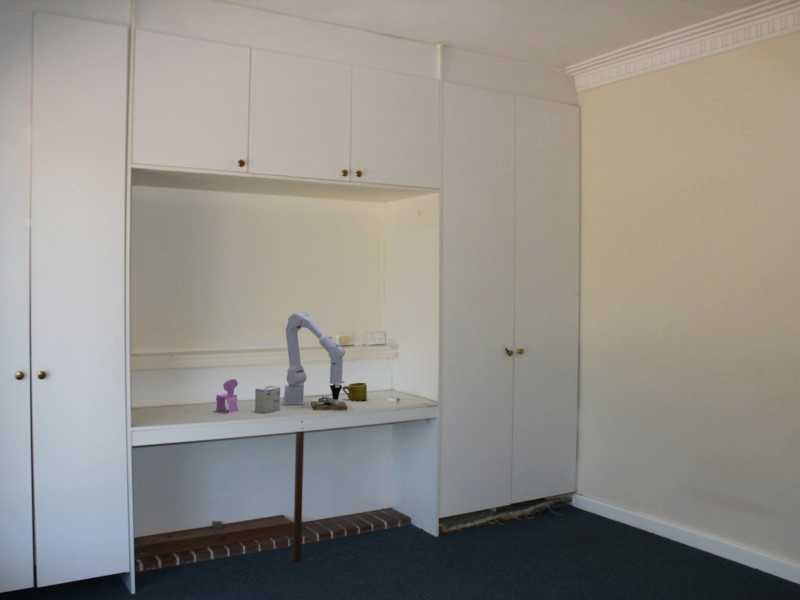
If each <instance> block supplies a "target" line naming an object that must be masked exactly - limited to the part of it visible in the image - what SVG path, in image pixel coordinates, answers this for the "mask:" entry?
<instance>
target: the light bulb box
mask: <svg viewBox="0 0 800 600" xmlns="http://www.w3.org/2000/svg"><path fill="white" fill-rule="evenodd" d="M254 395H255V396H254V397H255V398H254V412H255V411H256V413H261V412H262V413H263V414H267V413H271V412H275V411H279V410H280V409H281V386H275V385H267V386H262V387H256V388H255V390H254Z"/></svg>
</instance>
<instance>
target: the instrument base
mask: <svg viewBox="0 0 800 600" xmlns="http://www.w3.org/2000/svg"><path fill="white" fill-rule="evenodd" d="M318 401H319V400H318ZM318 401H317V400H316V401H310V406H311V408H312V410H313V411H325V410H326V411H339V410H342V411H344V410H345V411H348V405H347V404H346V402H345V401H343V400H342V401H341V400H340V401H339V400H338V404H332V403H331V404H326V405H324V402H318Z"/></svg>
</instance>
